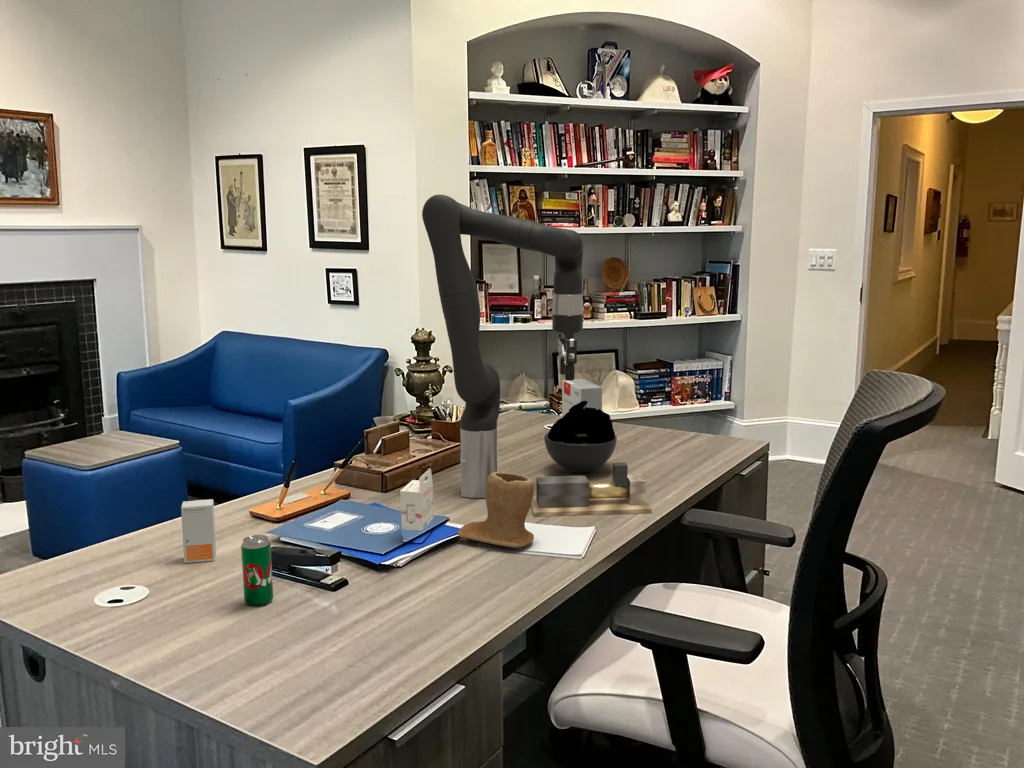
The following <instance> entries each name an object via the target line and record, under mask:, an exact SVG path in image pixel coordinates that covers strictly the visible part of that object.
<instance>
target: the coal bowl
mask: <svg viewBox="0 0 1024 768" xmlns="http://www.w3.org/2000/svg"><path fill="white" fill-rule="evenodd" d="M587 403H588V402H587V401H582V402H580V403H578V404H576V405H573V406H572V407H571V408H570V409H569V412H568V413H566V414H565V415H564V416H563V418H562V417H561V418H559V419H557V420H556V421H555V422H554V423H553V424H552V426H551V428H550V429H549V431H548V432H547V433H545V434H544V444H545V447H546V450H547V453H548V455H549V456H550V458H551V459H552V460H553V461H554V462H555V463H556V464H557V465H558V466H559V467H561V468H563V469H565V470H567V471H569V472H574V473H580V474H582V473H588V472H592V471H594V470H597V469H599V468H600V467H602V466H604V465H605V464H606V463H607V462H608V461H609V460H610V458H611V457H612V456H613V453H614V451H615V449H616V445H617V442H618V441H617V439H618V438H617V435H616V433H615V430H614V427H613V421H612V420H611V415H610V414H609V413H607V412H605V411H603V409H602V410H600V409H598V410H596V408H587V407H585V406H586V405H587ZM584 407H585V408H584Z"/></svg>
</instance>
